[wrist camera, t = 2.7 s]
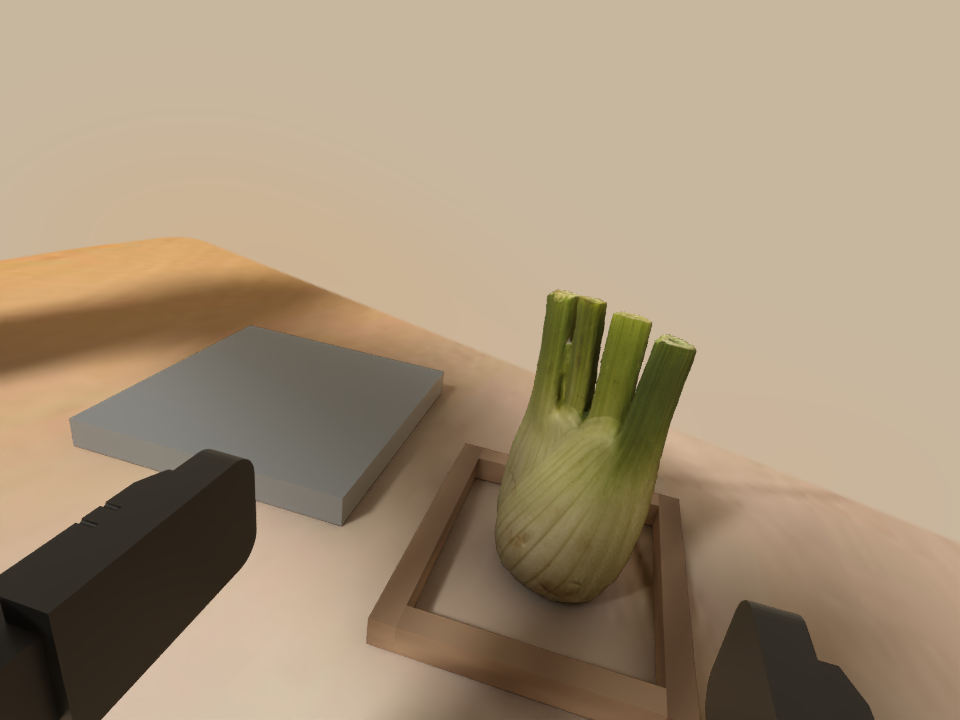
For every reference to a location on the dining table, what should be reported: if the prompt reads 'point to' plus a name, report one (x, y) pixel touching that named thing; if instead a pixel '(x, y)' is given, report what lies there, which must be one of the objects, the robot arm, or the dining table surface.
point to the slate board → (271, 417)
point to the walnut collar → (525, 668)
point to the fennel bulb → (587, 449)
